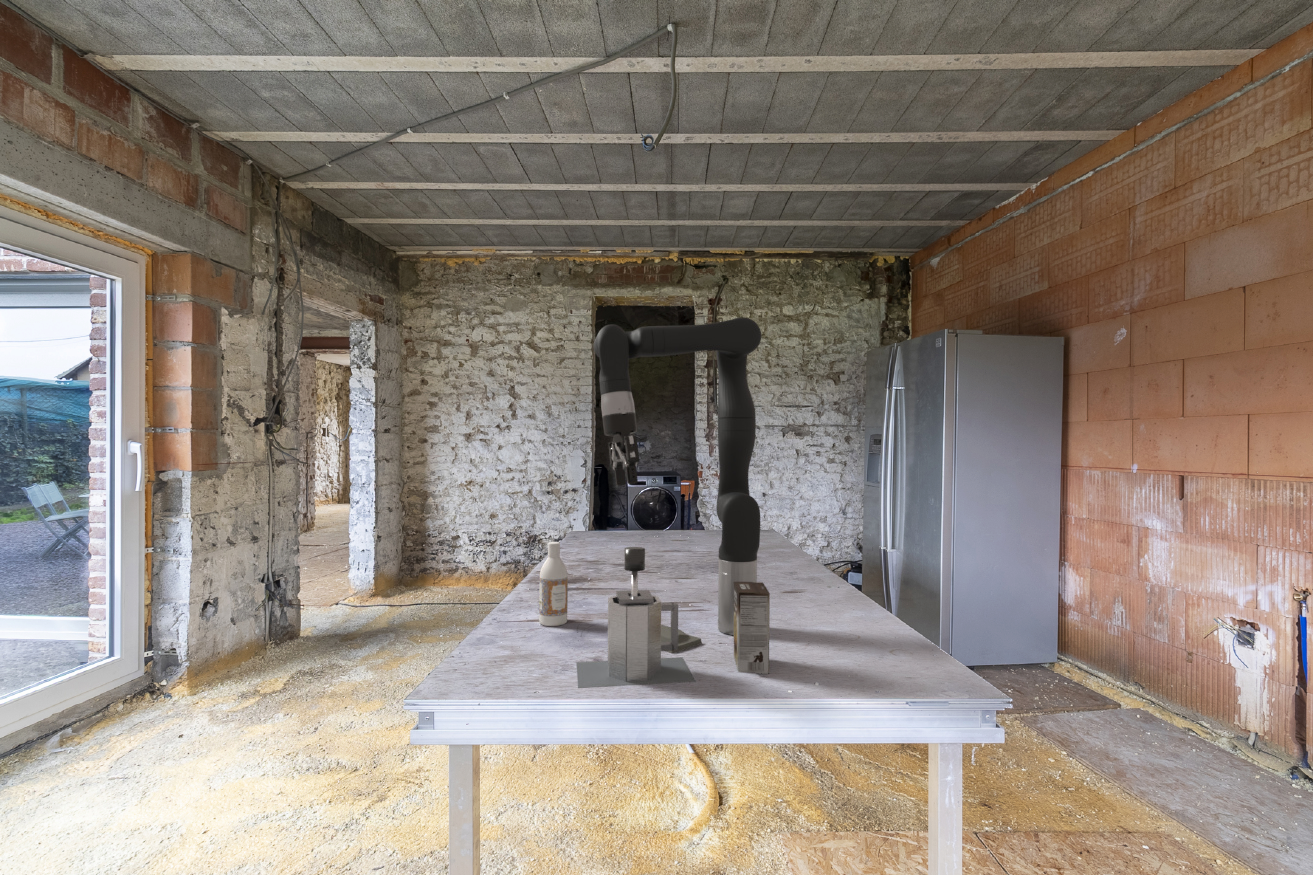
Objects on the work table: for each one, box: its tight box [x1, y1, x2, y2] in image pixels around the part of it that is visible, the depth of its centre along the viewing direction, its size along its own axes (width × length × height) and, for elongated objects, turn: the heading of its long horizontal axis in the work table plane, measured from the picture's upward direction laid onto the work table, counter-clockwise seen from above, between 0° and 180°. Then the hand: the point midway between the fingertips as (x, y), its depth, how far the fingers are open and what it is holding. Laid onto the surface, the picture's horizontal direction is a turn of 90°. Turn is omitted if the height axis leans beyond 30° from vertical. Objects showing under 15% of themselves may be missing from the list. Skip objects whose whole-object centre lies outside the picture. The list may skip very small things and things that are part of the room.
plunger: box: [623, 546, 646, 606], centre depth 119 cm, size 7×7×21 cm
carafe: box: [607, 589, 679, 682], centre depth 120 cm, size 14×10×15 cm
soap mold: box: [661, 623, 703, 654], centre depth 140 cm, size 10×20×4 cm, turn 45°
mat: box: [576, 656, 697, 689], centre depth 119 cm, size 22×13×1 cm, turn 99°
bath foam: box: [538, 541, 569, 627], centre depth 152 cm, size 7×7×20 cm
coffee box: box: [733, 581, 771, 675], centre depth 124 cm, size 9×6×16 cm
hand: (626, 484), depth 138 cm, fingers open, 8 cm apart
